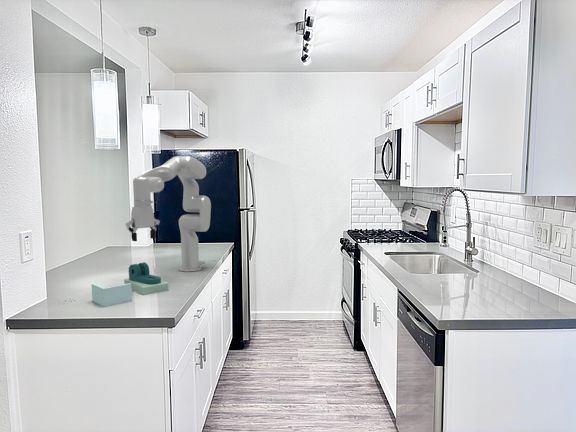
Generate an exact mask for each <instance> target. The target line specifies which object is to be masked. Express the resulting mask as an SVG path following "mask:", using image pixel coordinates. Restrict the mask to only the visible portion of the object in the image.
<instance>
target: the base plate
mask: <svg viewBox="0 0 576 432" xmlns="http://www.w3.org/2000/svg"><path fill="white" fill-rule="evenodd" d="M129 283H131V287H132V291H134V292H136V293H138V294H140V295H143V296H146V295H152V294H158V293H161V292H168V291H169V282H166V281H165V280H162V279H161V283H159V284H153V285H149V284H144V283H140V282H136V281H132V280H129V278H125V279H124V284H129Z"/></svg>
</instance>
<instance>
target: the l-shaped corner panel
mask: <svg viewBox="0 0 576 432" xmlns="http://www.w3.org/2000/svg"><path fill="white" fill-rule="evenodd" d="M132 291H133V290H132V287H131V283H129V284H119V285H113V286H109V287H103V286H101V285H99V284H98V283H97V284H96V283H91V295H92V296H91V299H92V302H93V301H94V303H96V304H98V305H99V306H101V307H103V308H104V307H109V306H114V305H117V304H118V305H119V304H122V303H127V302H132V301H133V293H132Z"/></svg>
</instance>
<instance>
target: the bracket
mask: <svg viewBox="0 0 576 432" xmlns="http://www.w3.org/2000/svg"><path fill="white" fill-rule="evenodd" d="M128 279H129V280H132V281H136V282H140V283H144V284H149V285H153V284H159V283H161V280H162V277H161V276H157V275H155V274H150V267H149V265H148V263H147V262H146V261H145V262H139V263H134V264H130V265H129V267H128Z"/></svg>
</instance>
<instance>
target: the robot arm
mask: <svg viewBox="0 0 576 432" xmlns="http://www.w3.org/2000/svg"><path fill="white" fill-rule="evenodd" d="M206 175H207V169H206V166H205V165H204V164H203V162H201V161H200V160H198V159H197V158H196V157H194V156H190V155H176V156H172V157H171V158H170V159H168V160H167V161H165V163H163V164H162V165H160V166H158V167H154V168H152V169H149V170H145V171H144V172H143V173H142V172H141V174H140V175H138V176H137V177H134V178H133V179H132V191H133V193H132V194H133V206H132V207H131V214H130V220H129V221H128V222H126V223H125V226H126V228H127V229H126V230H128V232H129V233H131V235H130V237H131V241H132V242H137V241H138V234H137V230H138V229H146V228H149V229H150V230H149V235H150V239H152V240H155V239H156V236H157V235H156V231H157V229H158V227H159V225H160V222H161V220H159V219H156V218H155V215H154V208H153V205H152V204H153V203H154V201H153V200H152V199H151V198H152V197H151V193H161V192H162V191H163V190H164V188H165V182H169V181H171V180H173V179H174V178H175V177H176V176H178V179H179V180H180V182H181V183H182V185H183V193H182V194H183V195H182V197H183V199H182V209H183V210H184V211H185V212H187V213H188V214H182V215H181V216H180V218H179V219H178V226H179V231H180V243H181V244H180V248H181V249H180V250H181V253H180V254H181V266H180V267H179V268H178V271H180V272H184V273H185V272H187V273H188V272H198V271H201V270H202V265H206V260H199V259H200V257H199V254H200V253H199V237H198V235H197V234H196V232H201V233H202V232H204V233H205V232H208V230H209V228H210V225H211V212H212V211H211V209H212V204H211V200H210V198H209V197H208V196H206V195H200V193H199V192H200V188H199V187H200V186H199V184H198V182H197V181H196V180H202V179H204V178H205V177H206ZM190 213H193V214H190ZM194 213H199V214H194Z"/></svg>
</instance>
